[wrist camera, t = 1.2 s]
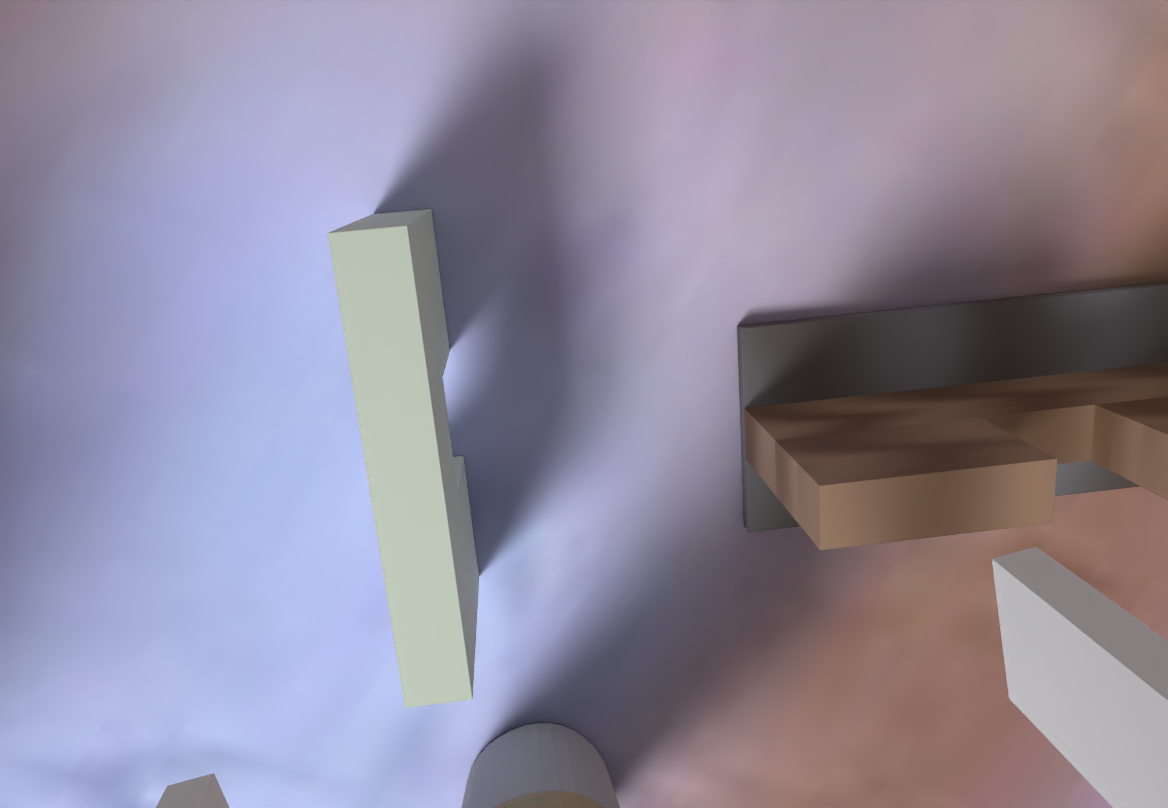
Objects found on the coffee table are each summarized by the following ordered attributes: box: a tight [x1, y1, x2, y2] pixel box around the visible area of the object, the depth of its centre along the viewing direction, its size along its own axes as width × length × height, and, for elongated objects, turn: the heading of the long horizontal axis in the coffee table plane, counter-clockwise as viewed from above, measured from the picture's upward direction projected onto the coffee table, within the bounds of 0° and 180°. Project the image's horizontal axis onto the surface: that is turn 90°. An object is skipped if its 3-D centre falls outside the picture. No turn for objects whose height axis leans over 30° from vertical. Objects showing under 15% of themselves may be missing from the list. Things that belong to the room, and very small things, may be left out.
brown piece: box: [737, 282, 1168, 550], centre depth 30 cm, size 18×8×9 cm, turn 95°
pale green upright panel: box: [328, 209, 479, 708], centre depth 28 cm, size 14×2×8 cm, turn 5°
